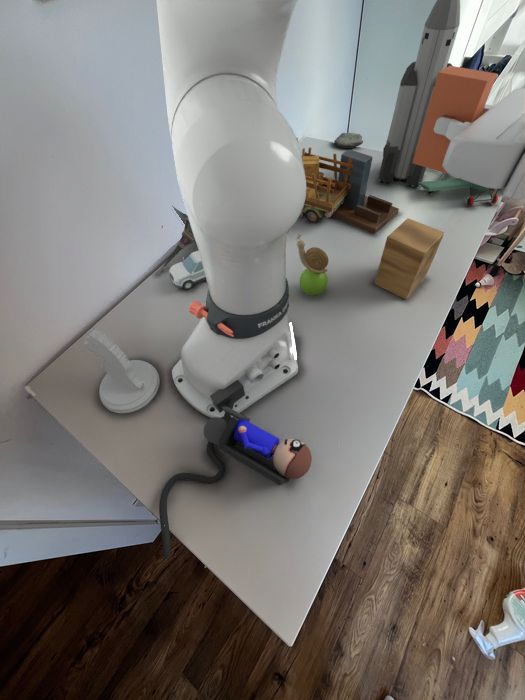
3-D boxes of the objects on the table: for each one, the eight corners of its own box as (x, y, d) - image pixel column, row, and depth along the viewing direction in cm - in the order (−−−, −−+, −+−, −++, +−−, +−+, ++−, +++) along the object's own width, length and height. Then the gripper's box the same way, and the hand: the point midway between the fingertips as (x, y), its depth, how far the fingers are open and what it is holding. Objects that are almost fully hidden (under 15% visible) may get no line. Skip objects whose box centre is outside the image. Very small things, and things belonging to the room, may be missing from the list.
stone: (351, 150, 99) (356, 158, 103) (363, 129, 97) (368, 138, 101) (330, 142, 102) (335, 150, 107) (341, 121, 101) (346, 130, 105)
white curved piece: (128, 354, 61) (89, 295, 49) (171, 375, 58) (140, 317, 46) (88, 398, 56) (34, 344, 44) (132, 423, 53) (87, 373, 41)
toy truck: (265, 183, 92) (260, 121, 80) (349, 209, 83) (358, 143, 71) (241, 203, 88) (233, 141, 76) (327, 233, 78) (334, 167, 66)
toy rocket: (375, 183, 89) (415, -9, 61) (381, 167, 93) (422, -19, 65) (421, 190, 86) (486, -10, 57) (425, 173, 90) (488, -20, 62)
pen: (453, 167, 92) (457, 164, 91) (429, 196, 85) (433, 193, 84) (450, 163, 92) (455, 160, 91) (426, 191, 85) (430, 188, 83)
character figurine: (229, 413, 54) (314, 463, 48) (200, 451, 50) (289, 510, 44) (224, 386, 47) (321, 440, 42) (190, 426, 44) (293, 491, 38)
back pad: (450, 175, 49) (487, 81, 40) (412, 163, 51) (438, 72, 42) (460, 166, 50) (497, 73, 41) (422, 155, 52) (449, 65, 44)
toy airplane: (544, 205, 78) (570, 153, 70) (433, 216, 79) (447, 166, 71) (494, 171, 93) (511, 126, 86) (402, 181, 94) (411, 137, 87)
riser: (406, 299, 65) (424, 252, 56) (374, 283, 68) (387, 236, 59) (424, 280, 68) (444, 232, 59) (392, 265, 71) (407, 217, 62)
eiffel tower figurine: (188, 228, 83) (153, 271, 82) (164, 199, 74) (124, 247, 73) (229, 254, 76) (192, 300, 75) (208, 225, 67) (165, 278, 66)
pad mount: (374, 234, 77) (387, 180, 67) (324, 213, 83) (329, 159, 73) (397, 214, 81) (413, 159, 71) (348, 195, 87) (356, 142, 77)
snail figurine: (302, 277, 70) (304, 226, 61) (331, 287, 68) (338, 235, 58) (289, 293, 68) (290, 243, 58) (319, 304, 65) (324, 254, 56)
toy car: (169, 278, 72) (162, 259, 68) (223, 256, 75) (220, 237, 71) (179, 294, 69) (172, 276, 65) (235, 271, 72) (232, 252, 68)
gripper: (603, 85, 42) (488, 66, 48) (544, 148, 33) (414, 116, 40) (569, 141, 47) (469, 117, 53) (510, 207, 39) (400, 171, 45)
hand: (445, 117), depth 46 cm, fingers closed on back pad, 3 cm apart
